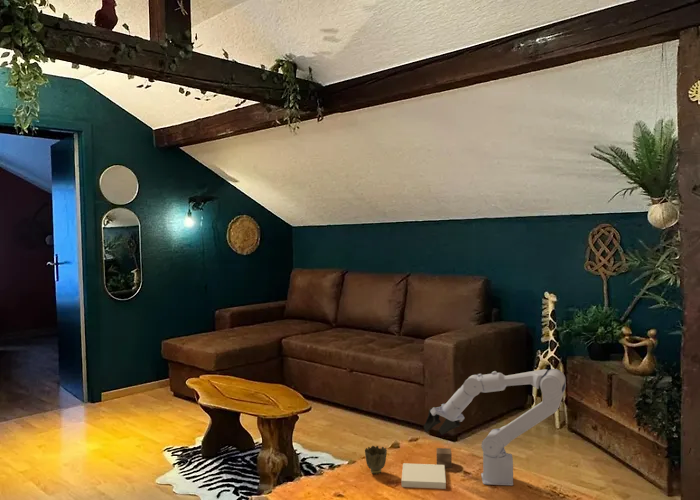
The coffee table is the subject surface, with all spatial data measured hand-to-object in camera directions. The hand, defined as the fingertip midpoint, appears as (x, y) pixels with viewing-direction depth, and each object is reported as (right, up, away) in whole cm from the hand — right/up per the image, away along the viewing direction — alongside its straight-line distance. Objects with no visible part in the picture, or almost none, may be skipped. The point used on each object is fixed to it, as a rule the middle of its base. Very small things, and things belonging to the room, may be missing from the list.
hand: (433, 431), depth 207 cm
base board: (-4, -13, -7) cm, 16 cm away
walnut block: (+4, -13, +4) cm, 14 cm away
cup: (-20, -14, -2) cm, 24 cm away
